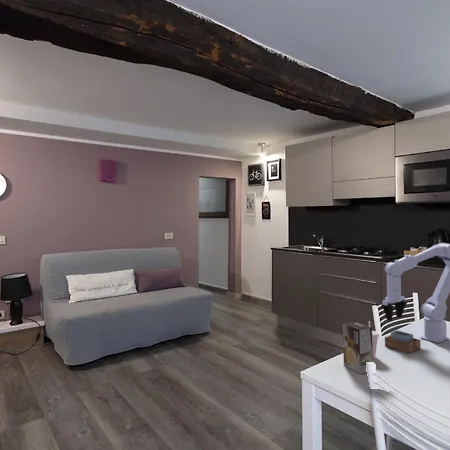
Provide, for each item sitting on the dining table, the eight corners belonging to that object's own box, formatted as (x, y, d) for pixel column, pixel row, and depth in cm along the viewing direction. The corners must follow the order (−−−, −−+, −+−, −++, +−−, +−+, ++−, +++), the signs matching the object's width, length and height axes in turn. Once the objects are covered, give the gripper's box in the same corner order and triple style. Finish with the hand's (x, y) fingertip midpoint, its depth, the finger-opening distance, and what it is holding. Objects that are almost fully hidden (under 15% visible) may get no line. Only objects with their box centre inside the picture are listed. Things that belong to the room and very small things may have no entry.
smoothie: (375, 353, 144) (375, 319, 144) (381, 359, 138) (380, 324, 137) (359, 353, 145) (359, 319, 144) (364, 359, 138) (363, 324, 138)
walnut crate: (396, 342, 156) (396, 333, 156) (420, 349, 147) (420, 339, 147) (384, 346, 152) (384, 337, 152) (408, 354, 143) (408, 344, 143)
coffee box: (374, 371, 128) (373, 327, 127) (360, 374, 125) (359, 330, 125) (355, 361, 136) (354, 320, 136) (342, 364, 134) (341, 323, 133)
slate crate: (397, 342, 154) (397, 330, 154) (413, 347, 148) (413, 334, 148) (390, 345, 151) (390, 332, 151) (406, 350, 145) (406, 336, 145)
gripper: (395, 285, 167) (395, 314, 167) (376, 289, 159) (376, 319, 159) (409, 288, 161) (409, 317, 161) (390, 292, 153) (391, 323, 153)
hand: (394, 318), depth 160 cm, fingers open, 7 cm apart
